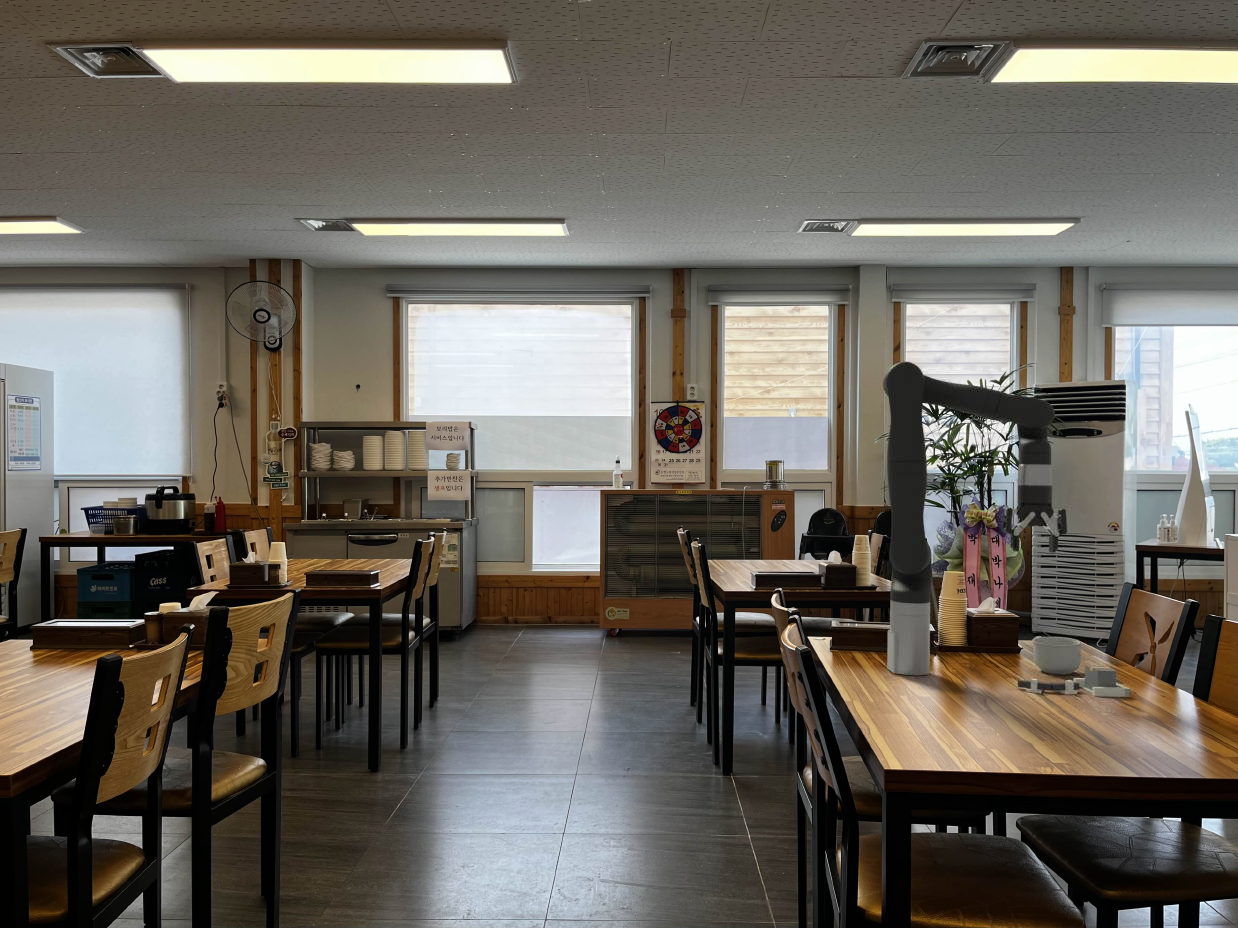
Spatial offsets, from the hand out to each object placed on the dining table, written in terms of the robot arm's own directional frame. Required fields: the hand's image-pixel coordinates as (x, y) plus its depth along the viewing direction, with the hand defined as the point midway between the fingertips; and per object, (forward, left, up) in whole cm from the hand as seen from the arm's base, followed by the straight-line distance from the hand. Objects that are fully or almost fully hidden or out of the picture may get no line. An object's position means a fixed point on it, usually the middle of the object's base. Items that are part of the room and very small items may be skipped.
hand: (1034, 551), depth 216 cm
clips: (-2, -13, -30) cm, 33 cm away
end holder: (+10, -12, -30) cm, 34 cm away
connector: (+10, -12, -30) cm, 34 cm away
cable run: (-2, -13, -30) cm, 33 cm away
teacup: (+9, +10, -30) cm, 33 cm away
